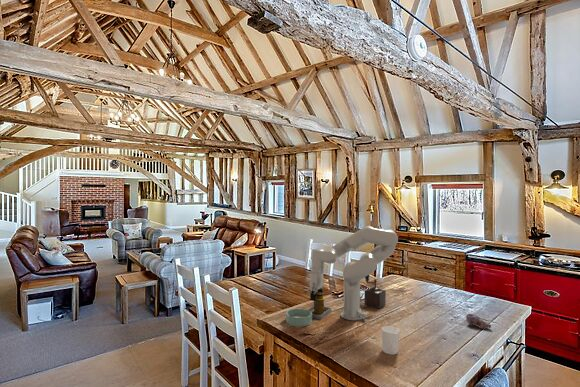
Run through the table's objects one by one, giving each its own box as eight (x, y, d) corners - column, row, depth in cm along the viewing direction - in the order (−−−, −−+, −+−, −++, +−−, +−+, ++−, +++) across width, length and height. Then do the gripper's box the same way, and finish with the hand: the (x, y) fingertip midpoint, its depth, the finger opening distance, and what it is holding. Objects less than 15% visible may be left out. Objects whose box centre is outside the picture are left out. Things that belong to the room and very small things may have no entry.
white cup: (378, 347, 151) (379, 325, 151) (395, 346, 152) (395, 325, 152) (385, 355, 143) (385, 333, 143) (402, 355, 144) (402, 332, 144)
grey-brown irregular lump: (492, 328, 174) (493, 317, 174) (487, 332, 169) (487, 321, 169) (469, 321, 183) (469, 311, 183) (463, 325, 178) (463, 314, 178)
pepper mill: (386, 304, 209) (387, 276, 209) (378, 308, 201) (379, 280, 201) (365, 298, 220) (365, 272, 220) (356, 303, 212) (357, 275, 212)
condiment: (326, 313, 192) (327, 293, 192) (315, 317, 187) (316, 296, 187) (319, 310, 198) (319, 290, 198) (308, 313, 193) (308, 293, 193)
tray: (331, 311, 196) (331, 307, 196) (320, 319, 183) (320, 316, 183) (314, 307, 202) (314, 304, 202) (303, 315, 189) (303, 312, 189)
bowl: (316, 319, 183) (316, 311, 183) (304, 328, 171) (304, 320, 171) (294, 314, 191) (294, 306, 191) (281, 322, 178) (281, 314, 178)
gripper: (318, 266, 202) (316, 293, 202) (305, 271, 187) (304, 300, 187) (329, 268, 198) (327, 295, 198) (317, 273, 183) (315, 303, 183)
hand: (316, 298), depth 193 cm, fingers open, 9 cm apart
